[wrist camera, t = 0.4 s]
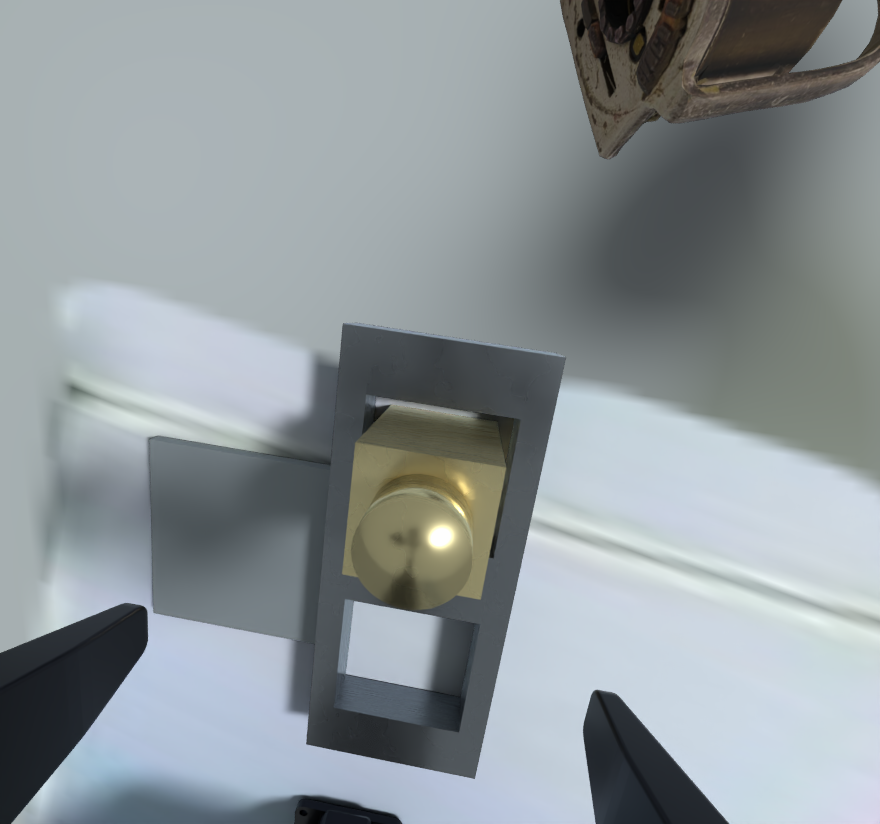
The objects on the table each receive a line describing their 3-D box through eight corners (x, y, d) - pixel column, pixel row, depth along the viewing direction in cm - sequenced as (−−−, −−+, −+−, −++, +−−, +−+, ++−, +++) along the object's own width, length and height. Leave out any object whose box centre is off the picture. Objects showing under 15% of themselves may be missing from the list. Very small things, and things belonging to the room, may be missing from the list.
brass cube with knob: (479, 518, 20) (481, 643, 13) (380, 501, 21) (321, 613, 13) (497, 421, 19) (511, 493, 11) (391, 404, 19) (335, 463, 12)
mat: (335, 638, 23) (332, 647, 22) (161, 605, 23) (153, 612, 23) (353, 468, 20) (349, 473, 20) (158, 435, 21) (149, 439, 20)
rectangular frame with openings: (474, 740, 23) (474, 778, 21) (320, 709, 24) (306, 744, 22) (556, 353, 18) (566, 357, 16) (356, 322, 19) (342, 323, 17)
